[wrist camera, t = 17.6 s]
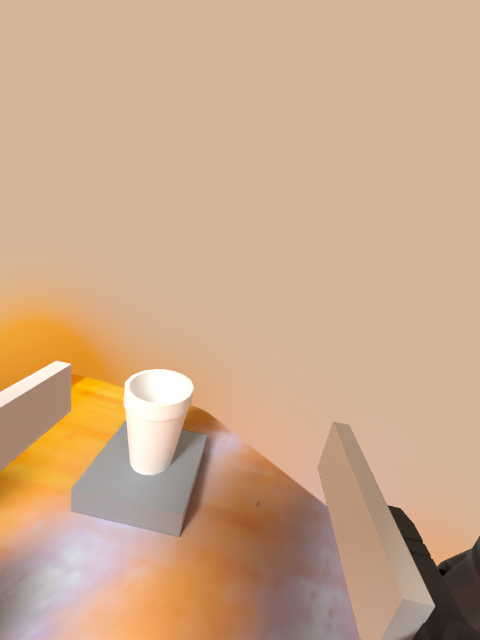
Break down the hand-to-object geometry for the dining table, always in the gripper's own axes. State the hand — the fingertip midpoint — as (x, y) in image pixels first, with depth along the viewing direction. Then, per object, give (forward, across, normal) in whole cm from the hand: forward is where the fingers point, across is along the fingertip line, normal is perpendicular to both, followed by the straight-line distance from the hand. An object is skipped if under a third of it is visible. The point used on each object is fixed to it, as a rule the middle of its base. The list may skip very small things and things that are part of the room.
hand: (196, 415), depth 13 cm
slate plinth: (+22, -9, -30) cm, 38 cm away
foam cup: (+22, -9, -26) cm, 35 cm away
